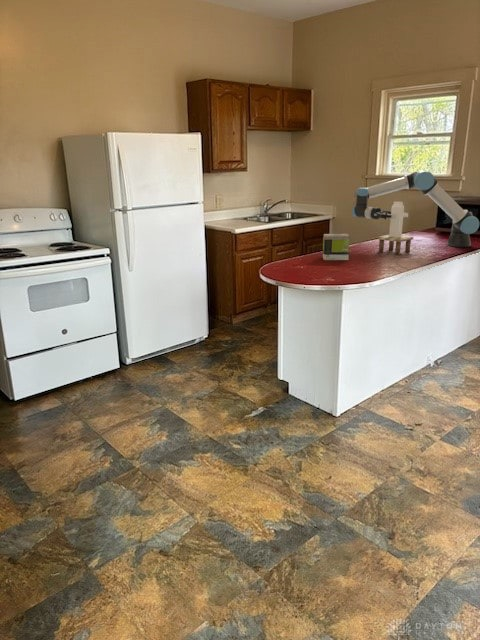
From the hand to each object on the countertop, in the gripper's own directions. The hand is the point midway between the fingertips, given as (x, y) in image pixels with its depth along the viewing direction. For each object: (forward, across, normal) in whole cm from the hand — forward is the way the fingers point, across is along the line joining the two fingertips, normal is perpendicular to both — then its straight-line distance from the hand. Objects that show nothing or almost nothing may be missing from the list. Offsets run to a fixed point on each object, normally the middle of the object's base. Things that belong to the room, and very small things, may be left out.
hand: (402, 216), depth 311 cm
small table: (-3, 0, -24) cm, 24 cm away
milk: (-3, 0, -14) cm, 14 cm away
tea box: (-16, +45, -24) cm, 53 cm away
